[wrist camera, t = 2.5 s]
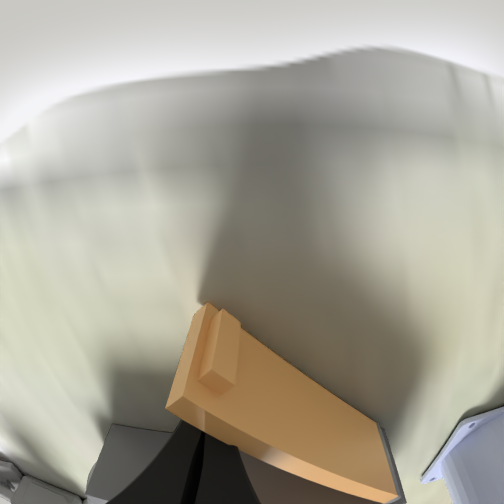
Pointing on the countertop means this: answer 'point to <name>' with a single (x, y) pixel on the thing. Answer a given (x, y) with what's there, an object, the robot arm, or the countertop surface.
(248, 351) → the case door
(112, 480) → the camera case
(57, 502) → the camera
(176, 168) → the countertop surface
